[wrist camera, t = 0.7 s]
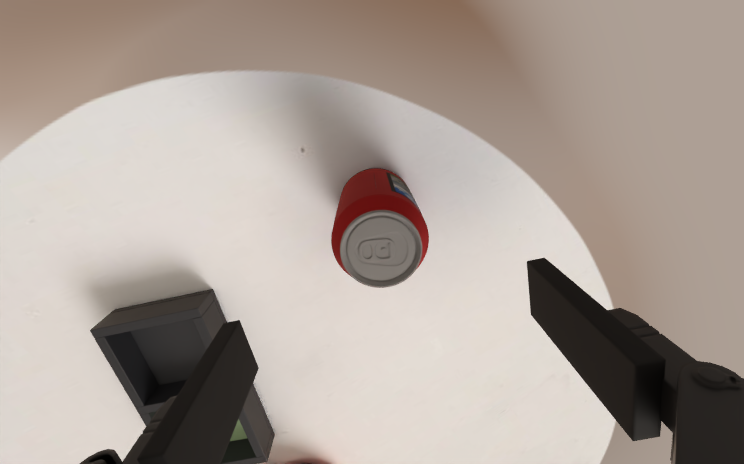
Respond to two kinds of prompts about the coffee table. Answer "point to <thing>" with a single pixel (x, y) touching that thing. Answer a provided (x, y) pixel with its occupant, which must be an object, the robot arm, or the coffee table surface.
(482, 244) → the coffee table surface
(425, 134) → the coffee table surface
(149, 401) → the divided tray
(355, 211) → the beverage can
